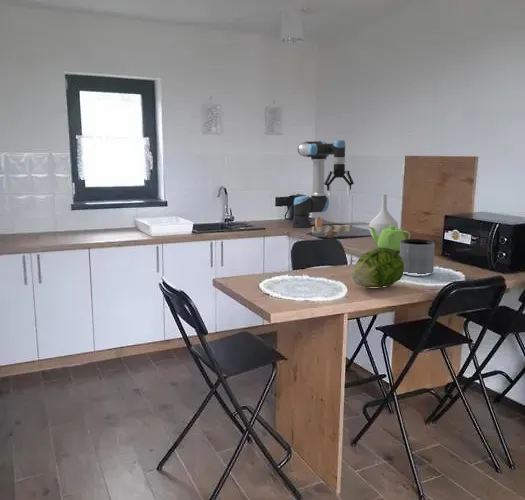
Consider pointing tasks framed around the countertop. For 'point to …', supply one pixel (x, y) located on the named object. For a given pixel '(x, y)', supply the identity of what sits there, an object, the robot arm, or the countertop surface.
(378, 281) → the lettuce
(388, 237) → the teapot
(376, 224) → the vase
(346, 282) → the countertop surface
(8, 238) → the countertop surface
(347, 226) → the beam
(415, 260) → the planter
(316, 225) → the block
